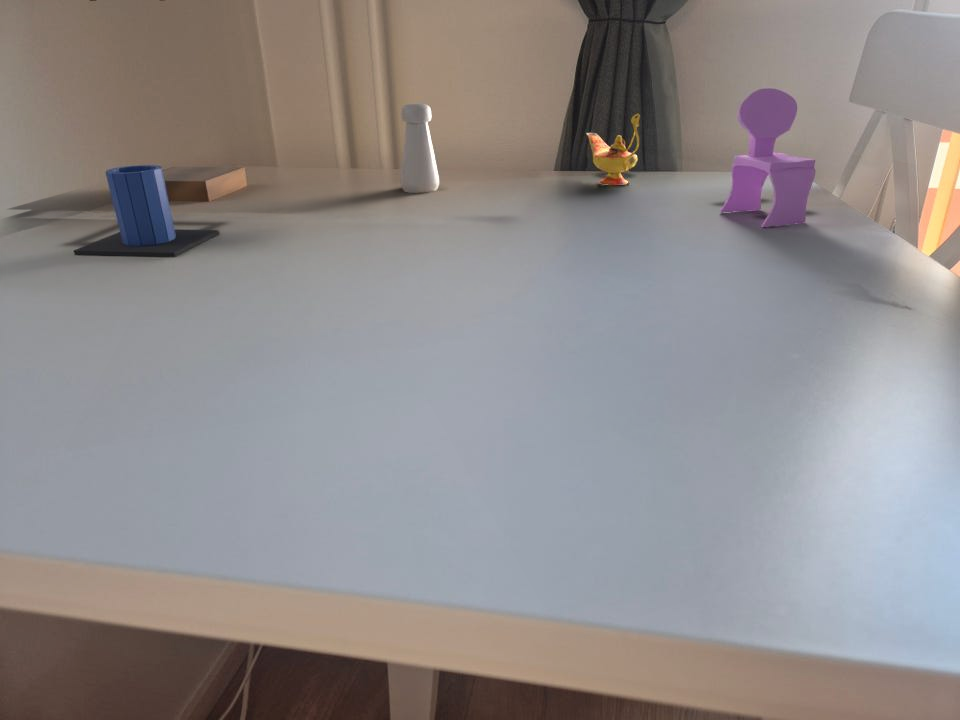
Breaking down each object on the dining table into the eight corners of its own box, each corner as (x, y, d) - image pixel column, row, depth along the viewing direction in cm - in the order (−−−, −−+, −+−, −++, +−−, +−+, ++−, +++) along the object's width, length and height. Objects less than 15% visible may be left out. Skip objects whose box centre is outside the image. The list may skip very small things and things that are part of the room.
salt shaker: (430, 202, 97) (425, 106, 92) (394, 200, 99) (387, 105, 93) (446, 194, 102) (442, 102, 97) (411, 192, 104) (406, 102, 98)
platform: (132, 209, 97) (125, 180, 95) (177, 192, 108) (172, 166, 106) (210, 209, 95) (205, 181, 94) (248, 193, 106) (244, 167, 104)
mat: (74, 254, 75) (73, 250, 75) (128, 232, 84) (127, 228, 84) (174, 257, 73) (173, 252, 73) (219, 234, 82) (218, 230, 82)
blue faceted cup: (112, 245, 76) (94, 173, 73) (141, 233, 81) (126, 165, 78) (158, 246, 76) (142, 173, 72) (185, 234, 81) (171, 165, 77)
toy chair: (758, 229, 80) (779, 92, 73) (712, 214, 87) (727, 89, 81) (815, 223, 82) (840, 89, 76) (765, 208, 89) (784, 86, 83)
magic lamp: (604, 171, 118) (608, 104, 113) (655, 190, 102) (662, 112, 98) (567, 174, 116) (570, 106, 112) (614, 193, 101) (619, 114, 96)
